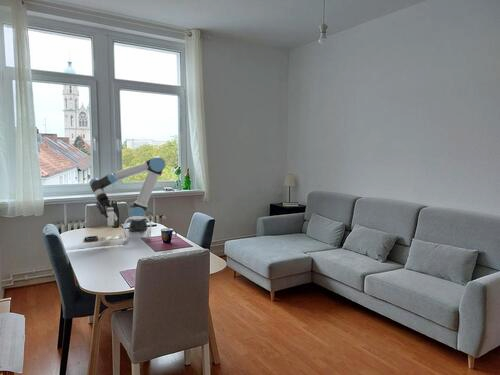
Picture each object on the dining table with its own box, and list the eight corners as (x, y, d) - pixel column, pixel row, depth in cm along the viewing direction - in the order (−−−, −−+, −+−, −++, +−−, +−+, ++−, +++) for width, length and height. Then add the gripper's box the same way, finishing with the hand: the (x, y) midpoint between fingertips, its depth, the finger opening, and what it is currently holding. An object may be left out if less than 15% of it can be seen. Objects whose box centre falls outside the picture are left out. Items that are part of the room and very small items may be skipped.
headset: (151, 237, 269) (151, 214, 267) (151, 240, 262) (151, 216, 260) (124, 239, 264) (123, 216, 262) (123, 242, 257) (122, 218, 255)
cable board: (120, 237, 270) (120, 232, 270) (122, 240, 261) (121, 235, 261) (83, 241, 259) (83, 236, 259) (83, 244, 250) (83, 239, 250)
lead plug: (113, 224, 265) (113, 207, 263) (114, 225, 261) (113, 208, 259) (107, 224, 263) (106, 207, 262) (107, 226, 259) (107, 208, 257)
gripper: (110, 198, 276) (122, 221, 268) (88, 200, 263) (100, 225, 254) (113, 191, 272) (125, 215, 264) (91, 194, 259) (103, 219, 250)
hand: (113, 220), depth 259 cm, fingers closed on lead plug, 4 cm apart
